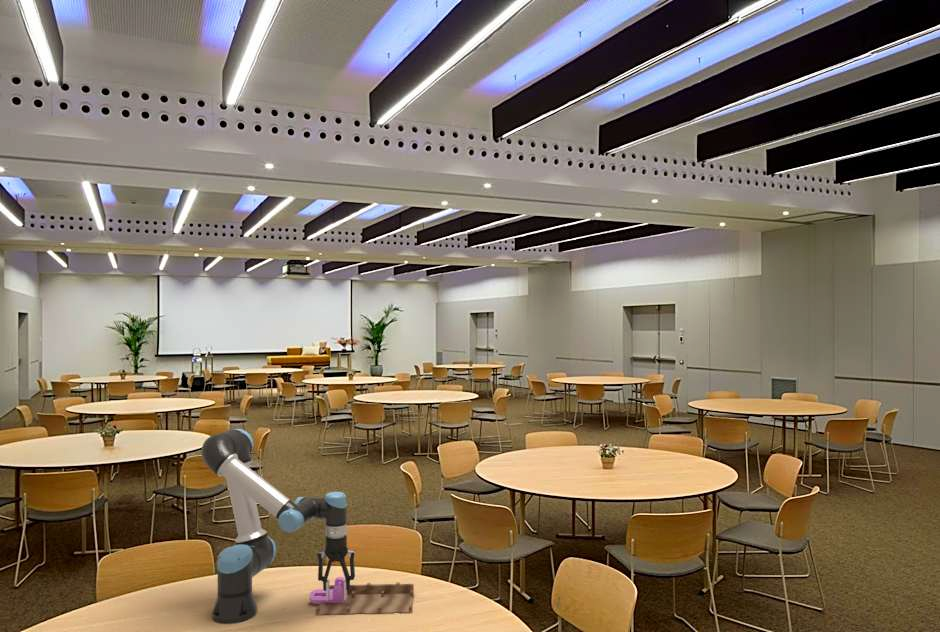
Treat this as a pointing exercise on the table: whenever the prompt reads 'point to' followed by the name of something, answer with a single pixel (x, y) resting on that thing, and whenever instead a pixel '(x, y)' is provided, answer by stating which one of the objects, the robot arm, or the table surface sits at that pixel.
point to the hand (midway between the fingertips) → (336, 598)
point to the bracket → (335, 593)
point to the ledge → (372, 600)
